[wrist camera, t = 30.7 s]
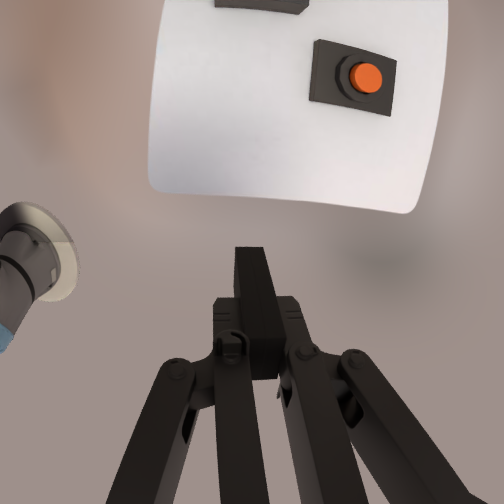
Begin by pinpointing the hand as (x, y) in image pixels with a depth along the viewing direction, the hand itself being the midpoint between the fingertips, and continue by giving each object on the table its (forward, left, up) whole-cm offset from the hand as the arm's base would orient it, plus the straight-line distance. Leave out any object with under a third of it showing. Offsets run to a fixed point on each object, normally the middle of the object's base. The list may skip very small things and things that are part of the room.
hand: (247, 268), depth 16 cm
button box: (+16, +14, -26) cm, 34 cm away
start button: (+16, +14, -23) cm, 31 cm away
